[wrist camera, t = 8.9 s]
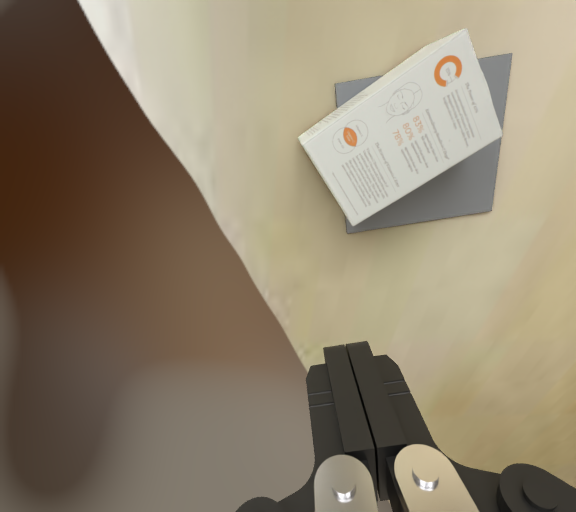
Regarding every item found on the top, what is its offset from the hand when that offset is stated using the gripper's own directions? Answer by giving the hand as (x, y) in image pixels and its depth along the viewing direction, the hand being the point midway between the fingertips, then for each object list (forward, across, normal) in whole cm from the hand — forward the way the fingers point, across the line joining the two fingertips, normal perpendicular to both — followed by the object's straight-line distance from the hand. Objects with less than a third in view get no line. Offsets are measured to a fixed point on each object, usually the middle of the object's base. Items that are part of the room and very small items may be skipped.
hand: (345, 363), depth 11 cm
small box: (+20, -2, -2) cm, 20 cm away
